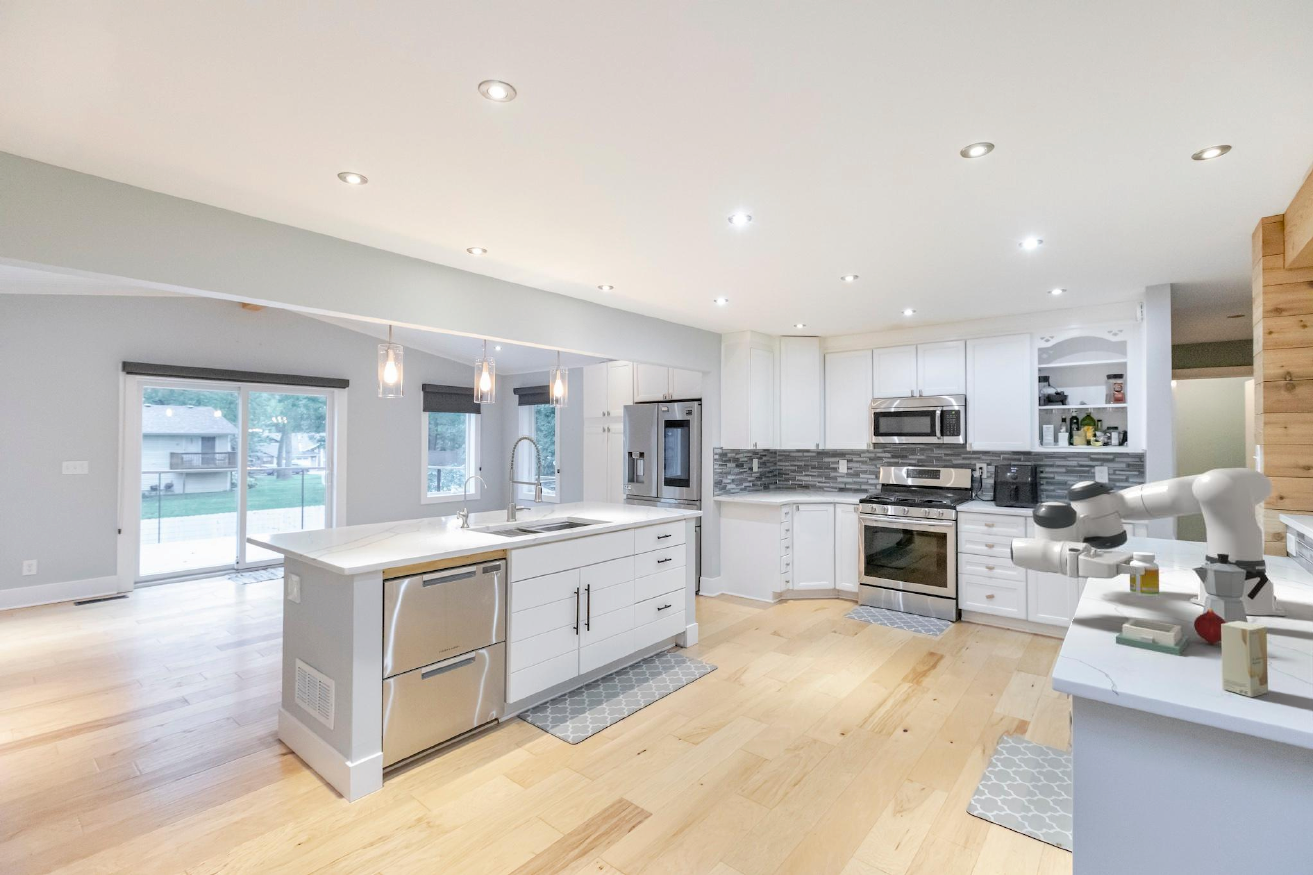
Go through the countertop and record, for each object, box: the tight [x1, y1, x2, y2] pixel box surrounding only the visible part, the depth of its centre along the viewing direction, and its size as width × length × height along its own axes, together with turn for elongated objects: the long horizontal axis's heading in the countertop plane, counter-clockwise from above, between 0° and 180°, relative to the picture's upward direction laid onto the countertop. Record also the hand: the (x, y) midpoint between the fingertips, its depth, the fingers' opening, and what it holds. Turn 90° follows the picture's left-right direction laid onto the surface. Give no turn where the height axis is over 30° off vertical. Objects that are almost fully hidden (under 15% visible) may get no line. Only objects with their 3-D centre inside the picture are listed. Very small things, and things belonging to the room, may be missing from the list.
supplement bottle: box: [1129, 551, 1160, 598], centre depth 140 cm, size 5×5×10 cm
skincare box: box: [1221, 621, 1269, 698], centre depth 109 cm, size 6×4×12 cm
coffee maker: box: [1191, 554, 1270, 623], centre depth 148 cm, size 15×9×18 cm, turn 68°
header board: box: [1115, 617, 1190, 656], centre depth 136 cm, size 12×11×4 cm
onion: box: [1193, 608, 1226, 645], centre depth 135 cm, size 6×6×8 cm
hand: (1149, 568), depth 140 cm, fingers closed on supplement bottle, 5 cm apart
